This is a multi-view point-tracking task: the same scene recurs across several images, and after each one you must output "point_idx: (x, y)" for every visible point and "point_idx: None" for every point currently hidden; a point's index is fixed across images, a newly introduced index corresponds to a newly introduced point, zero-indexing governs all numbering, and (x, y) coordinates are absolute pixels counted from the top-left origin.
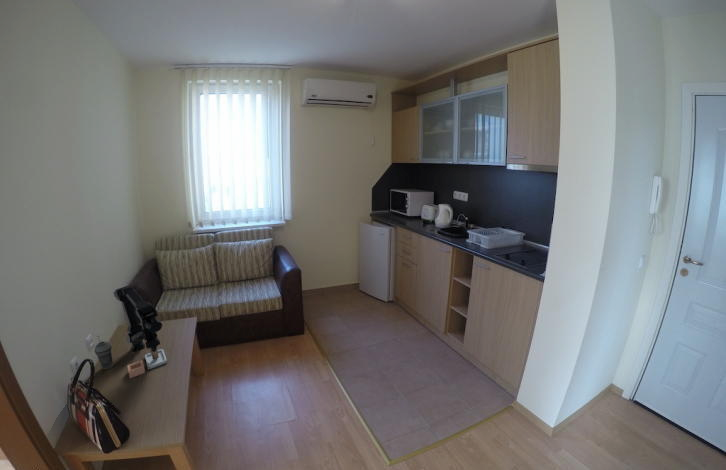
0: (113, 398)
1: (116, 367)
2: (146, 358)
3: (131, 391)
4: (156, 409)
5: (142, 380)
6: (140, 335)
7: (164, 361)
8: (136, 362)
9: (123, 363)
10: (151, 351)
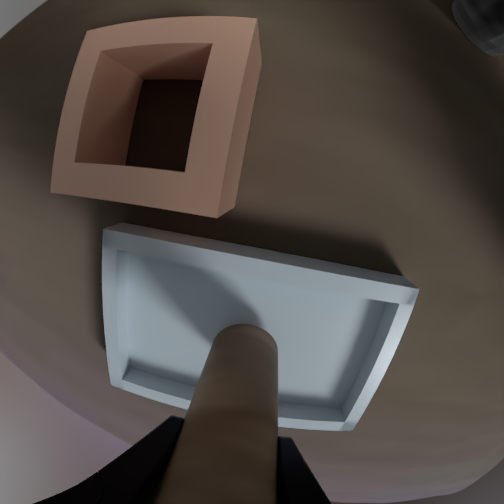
0: (39, 6)
1: (435, 38)
2: (316, 279)
3: (6, 84)
4: None
5: (33, 149)
6: None
7: (112, 366)
8: (220, 127)
9: (459, 97)
10: (205, 411)
